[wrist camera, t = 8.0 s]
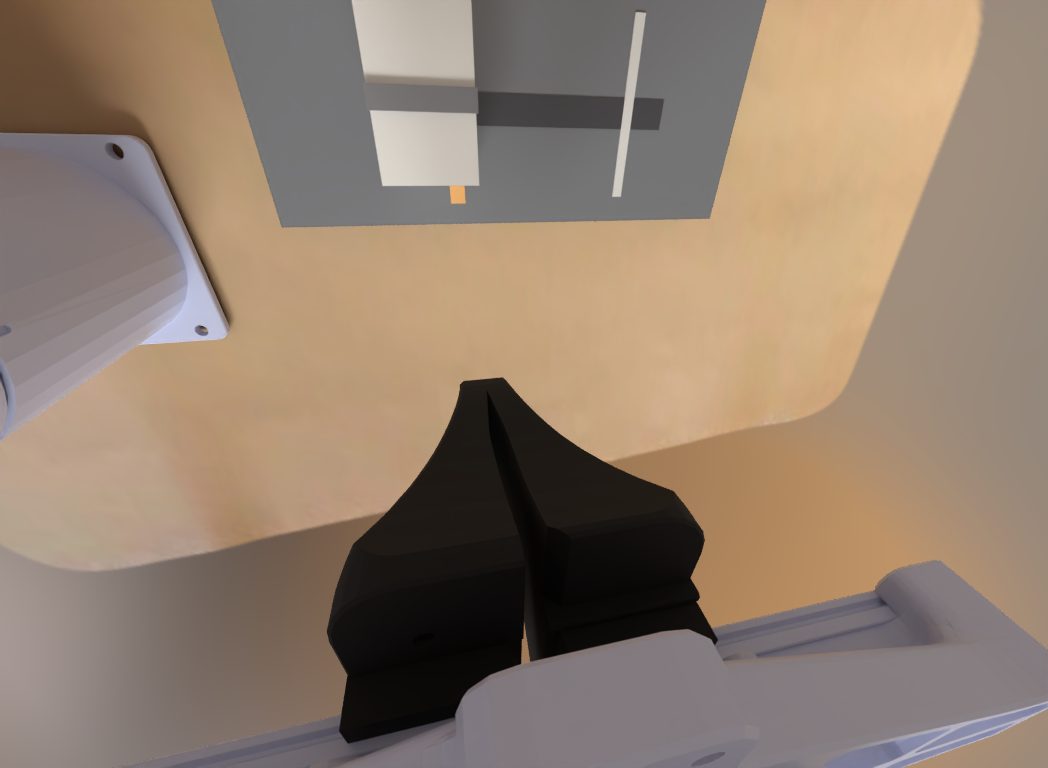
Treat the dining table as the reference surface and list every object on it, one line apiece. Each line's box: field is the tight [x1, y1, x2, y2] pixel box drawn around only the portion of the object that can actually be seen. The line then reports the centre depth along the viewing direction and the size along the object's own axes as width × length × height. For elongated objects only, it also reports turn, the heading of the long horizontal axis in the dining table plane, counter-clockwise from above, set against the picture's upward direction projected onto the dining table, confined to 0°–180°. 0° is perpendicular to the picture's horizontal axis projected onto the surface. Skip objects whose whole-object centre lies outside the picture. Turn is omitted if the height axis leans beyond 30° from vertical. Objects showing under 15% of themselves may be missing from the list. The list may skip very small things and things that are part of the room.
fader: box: [352, 0, 479, 186], centre depth 12 cm, size 3×4×4 cm
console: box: [211, 0, 766, 227], centre depth 15 cm, size 19×8×2 cm, turn 89°
